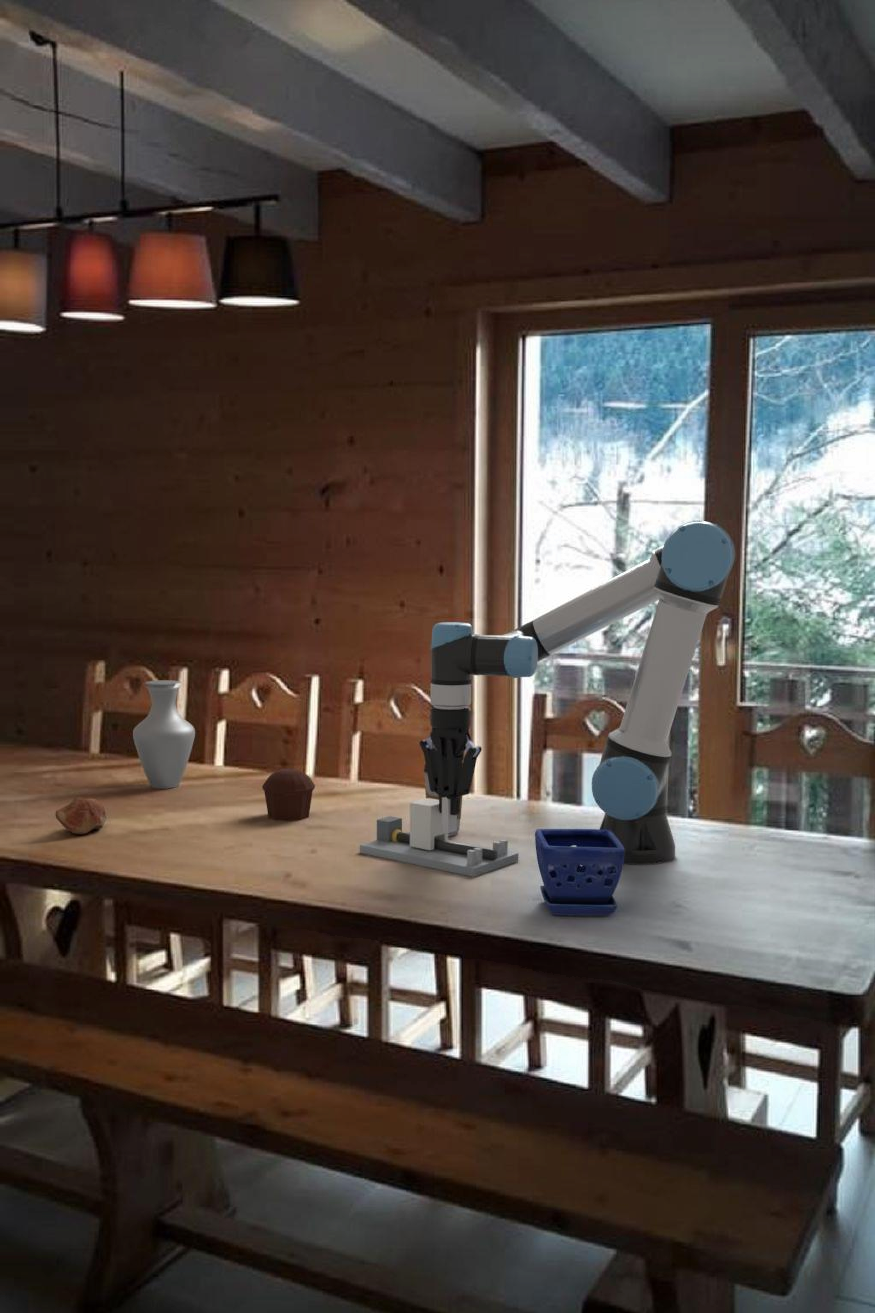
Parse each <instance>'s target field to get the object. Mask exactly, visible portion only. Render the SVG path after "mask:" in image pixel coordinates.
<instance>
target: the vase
mask: <svg viewBox="0 0 875 1313" xmlns="http://www.w3.org/2000/svg"><path fill="white" fill-rule="evenodd" d="M145 684H146V687H147V690H148V692H149V695H150V699H151V707H150V711H149V713H148V715H147V716H146V718H143V720H142V721H140V722H139V723H138V724H137V725H135V727H134V728H133V731H132V738H133V742H134V745H135V746H134V747H135V748H136V751H137V755H138V758H139V761H140V764H141V767H142V769H143V771H144V775H145V777H146V779H147V781H148V782H149V786H150V787H151V788H153V789H156V790H157V789H158V790H163V789H165V790H169V789H175V788H178V787H180V784H181V782H182V779H183V776H184V773H185V771H186V769H187V766H188V762H189V760H190V755H191V752H192V749H193V745H194V741H195V737H196V729H195V727H194V726H193V724H191V723H190V722H189V721H187V720H186V719H184V718H183V717H182V716H181V714H180V713H179V711H178V709H177V706H176V705H177V704H176V703H177V702H176V701H177V696H178V692H179V689H180V686H181V685H182V682H181V681H180V680H179V681H178V680H173V679H172V680H168V679H167V680H166V679H165V680H164V679H162V680H151V681H145Z"/></svg>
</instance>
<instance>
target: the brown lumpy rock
mask: <svg viewBox="0 0 875 1313" xmlns="http://www.w3.org/2000/svg"><path fill="white" fill-rule="evenodd" d="M54 814H55V818H56V819H57V820H58V822H59V823H60V824H61V826H62V827H63V828H64V829H66V830H67V831H69V832H71V833H73V834H76V835H86V834H88V833H90V832H91V831H93V830H100V829H102V828H103V827H104V825H105V823H106V821H107V814H106V811H105V808H104V806H103V805H102V803H101V802H100V801H99V800H97V799H96V798H93V797H92V798H84V797H80V796H77V797H75V798H74V799H73V800H72V801H71V802H70V803H69V804H67V805H65V806H63V807H61V808H59V809H58V810H56V811H55V813H54Z"/></svg>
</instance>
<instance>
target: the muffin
mask: <svg viewBox="0 0 875 1313" xmlns="http://www.w3.org/2000/svg"><path fill="white" fill-rule="evenodd" d="M261 787H262V790H263V791H264V792H263V793H264V797H265V803H266V804H265V805H266V809H267V816H268V819H271V820H274V821H287V822H291V821H301V820H304V819H309V818H310V811H311V804H312V797H313V792H314V790H315V789H316V784H315V783H314V782H313V780H312V778H311V777H310V776H309V775H307V774H306V773H304V772H303V771H301V770H300V769H297V768H281V769H277V770H276V771H274V772H273V773H271V774H270V775H269V776H268V777H267V779H266V780H265V782H264V783H263V785H262V786H261Z"/></svg>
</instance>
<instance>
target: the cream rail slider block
mask: <svg viewBox="0 0 875 1313" xmlns="http://www.w3.org/2000/svg"><path fill="white" fill-rule="evenodd" d="M409 832H410V846H411V847H416V848H421V849H426V850H434V839H438V840H444V841H448V840H449V836H448V833H444V832H442V813H440V812H439V800H437V799H431V798H426V797H425V798H422V799H418V800H415V801H411V802H409Z"/></svg>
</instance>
